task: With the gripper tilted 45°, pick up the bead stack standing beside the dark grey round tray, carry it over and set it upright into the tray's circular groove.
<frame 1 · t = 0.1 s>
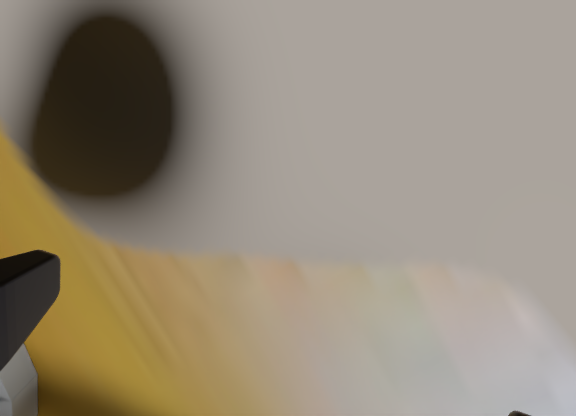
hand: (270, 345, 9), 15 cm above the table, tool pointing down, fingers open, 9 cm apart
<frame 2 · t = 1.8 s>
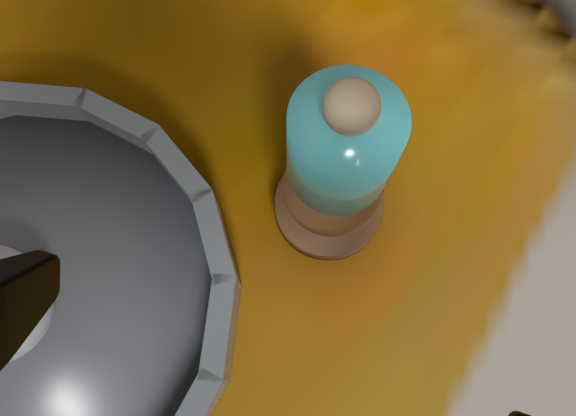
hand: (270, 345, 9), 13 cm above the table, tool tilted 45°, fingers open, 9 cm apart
bead stack: (327, 208, 24), on the table
groove tray: (11, 309, 23), on the table
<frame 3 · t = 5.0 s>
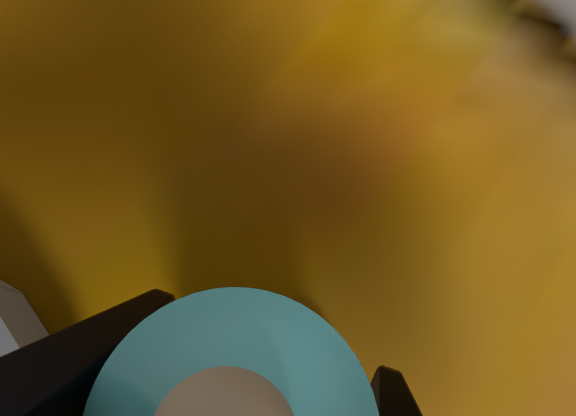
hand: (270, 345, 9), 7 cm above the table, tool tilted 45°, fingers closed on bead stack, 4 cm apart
bead stack: (263, 401, 15), on the table, touching gripper
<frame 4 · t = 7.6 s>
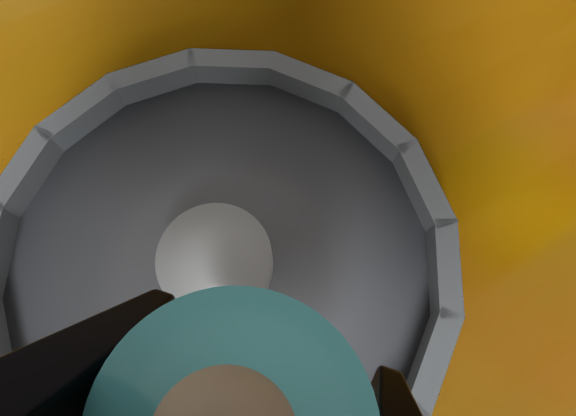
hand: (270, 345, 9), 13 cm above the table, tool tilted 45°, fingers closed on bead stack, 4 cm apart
bead stack: (263, 401, 15), point 7 cm above the table, touching gripper
groove tray: (221, 269, 23), on the table
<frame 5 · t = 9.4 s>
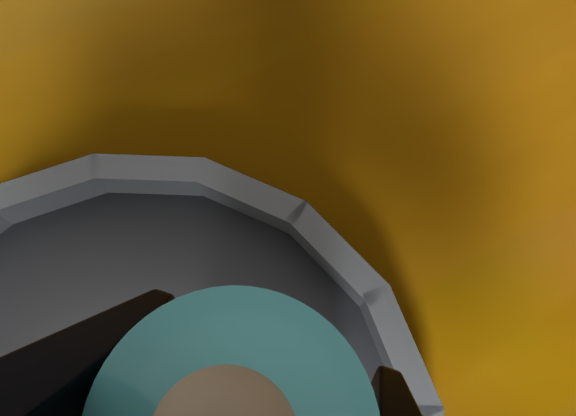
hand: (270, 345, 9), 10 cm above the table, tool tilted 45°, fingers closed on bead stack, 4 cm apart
bead stack: (263, 401, 15), point 3 cm above the table, touching gripper
when the fingers open (9 cm above the table, at t = 10.5 s): bead stack drops 1 cm, resting on groove tray.
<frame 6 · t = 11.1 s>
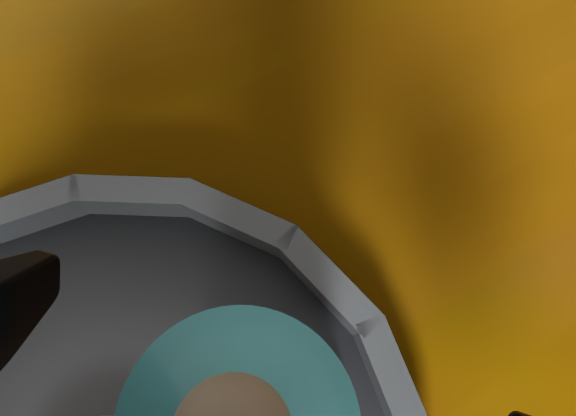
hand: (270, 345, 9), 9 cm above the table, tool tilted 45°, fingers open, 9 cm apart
bead stack: (263, 401, 17), point 1 cm above the table, touching groove tray
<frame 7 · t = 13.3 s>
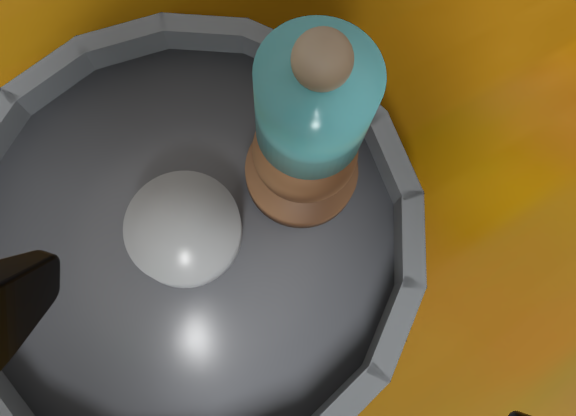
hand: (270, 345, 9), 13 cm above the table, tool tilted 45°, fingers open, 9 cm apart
bead stack: (300, 175, 23), point 1 cm above the table, touching groove tray
groove tray: (190, 237, 23), on the table
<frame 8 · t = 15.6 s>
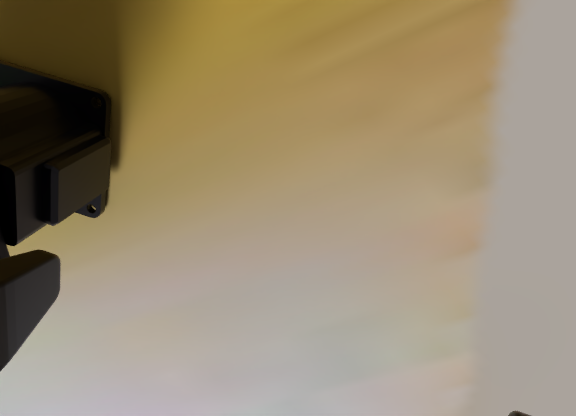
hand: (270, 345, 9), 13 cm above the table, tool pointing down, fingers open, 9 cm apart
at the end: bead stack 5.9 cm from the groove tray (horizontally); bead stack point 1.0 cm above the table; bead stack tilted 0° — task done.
